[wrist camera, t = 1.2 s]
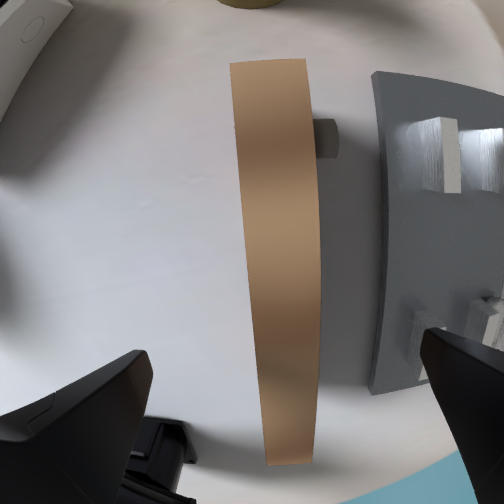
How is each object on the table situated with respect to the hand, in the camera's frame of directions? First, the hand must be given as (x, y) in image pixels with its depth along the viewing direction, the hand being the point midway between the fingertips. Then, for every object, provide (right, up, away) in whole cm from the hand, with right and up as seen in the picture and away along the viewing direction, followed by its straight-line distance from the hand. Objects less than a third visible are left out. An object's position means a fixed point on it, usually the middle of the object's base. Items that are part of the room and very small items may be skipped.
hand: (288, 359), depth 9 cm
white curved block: (-21, +17, +7) cm, 28 cm away
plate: (+12, +4, +8) cm, 16 cm away
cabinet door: (+1, +3, +9) cm, 10 cm away
